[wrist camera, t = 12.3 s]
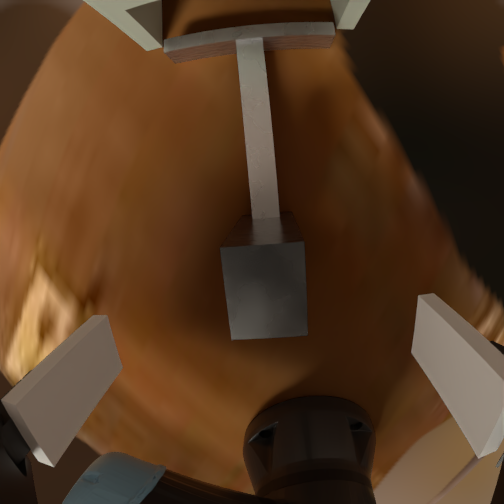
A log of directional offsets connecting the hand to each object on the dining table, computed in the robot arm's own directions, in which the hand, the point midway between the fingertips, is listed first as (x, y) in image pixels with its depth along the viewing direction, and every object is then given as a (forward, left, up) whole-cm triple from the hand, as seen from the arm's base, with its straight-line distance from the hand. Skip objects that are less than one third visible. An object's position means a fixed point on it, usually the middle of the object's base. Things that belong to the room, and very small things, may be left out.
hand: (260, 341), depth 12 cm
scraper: (+8, 0, -15) cm, 17 cm away
